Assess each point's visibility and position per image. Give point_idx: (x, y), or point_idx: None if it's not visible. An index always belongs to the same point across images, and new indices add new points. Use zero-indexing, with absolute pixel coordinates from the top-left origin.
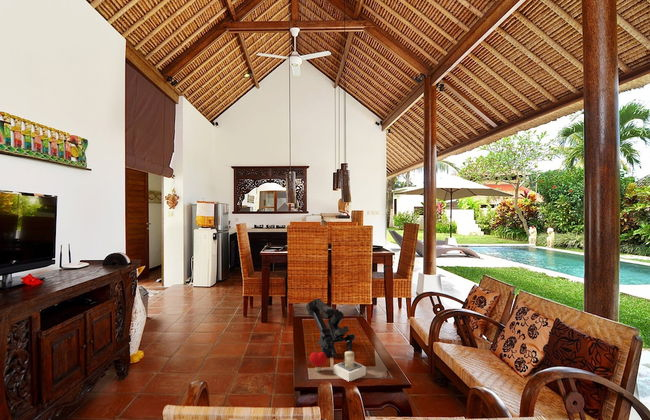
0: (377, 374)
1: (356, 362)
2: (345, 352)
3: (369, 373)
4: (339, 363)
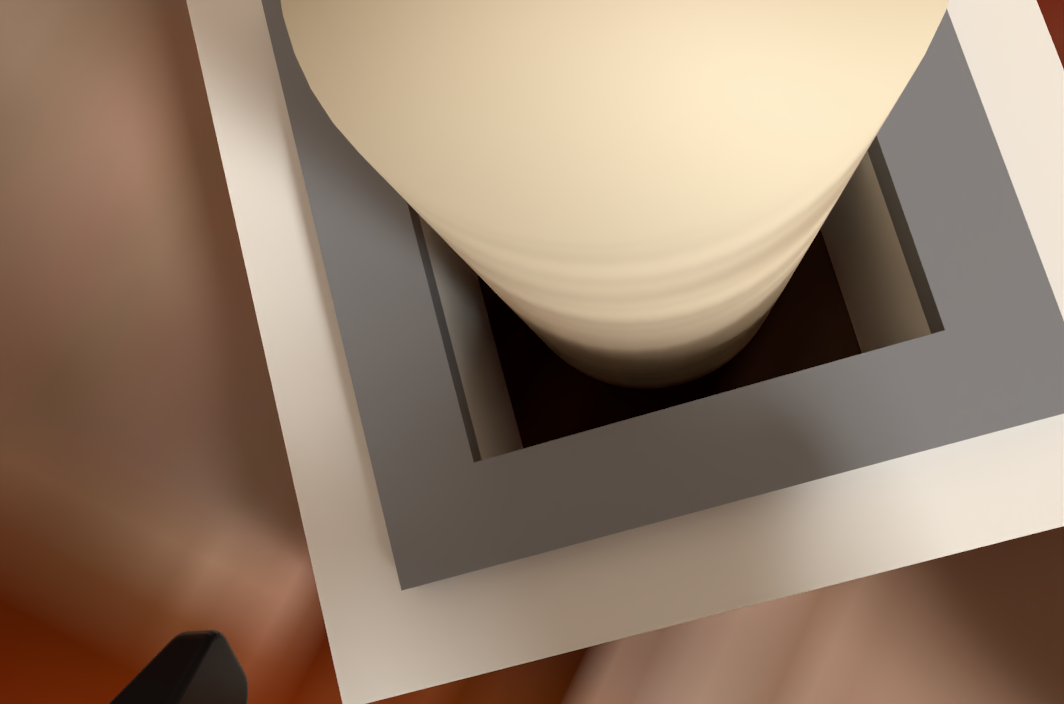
0: (28, 7)
1: (270, 365)
2: (841, 100)
3: (160, 115)
4: (909, 546)
